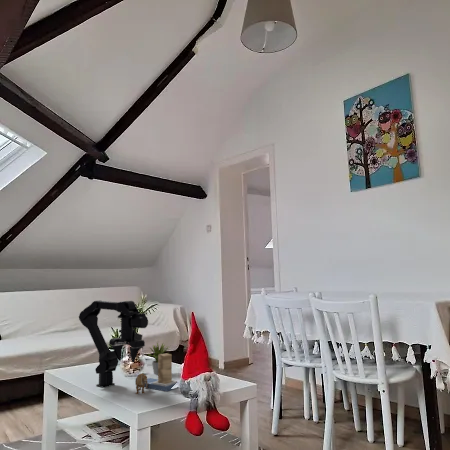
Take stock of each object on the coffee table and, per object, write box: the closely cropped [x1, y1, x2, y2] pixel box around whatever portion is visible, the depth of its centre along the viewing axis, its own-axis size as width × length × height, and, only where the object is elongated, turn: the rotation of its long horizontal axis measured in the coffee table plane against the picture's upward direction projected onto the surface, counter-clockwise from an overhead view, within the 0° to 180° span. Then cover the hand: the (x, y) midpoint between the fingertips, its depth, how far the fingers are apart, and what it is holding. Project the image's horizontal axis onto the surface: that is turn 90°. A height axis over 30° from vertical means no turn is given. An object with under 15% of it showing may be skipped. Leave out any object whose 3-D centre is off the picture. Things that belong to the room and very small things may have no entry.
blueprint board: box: [144, 377, 176, 392], centre depth 190 cm, size 19×9×2 cm, turn 56°
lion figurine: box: [134, 373, 149, 395], centre depth 183 cm, size 15×5×9 cm, turn 8°
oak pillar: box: [157, 353, 173, 384], centre depth 189 cm, size 4×4×13 cm
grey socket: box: [153, 379, 178, 387], centre depth 188 cm, size 8×8×1 cm
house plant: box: [147, 342, 173, 375], centre depth 218 cm, size 14×14×16 cm
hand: (126, 361), depth 190 cm, fingers open, 9 cm apart
